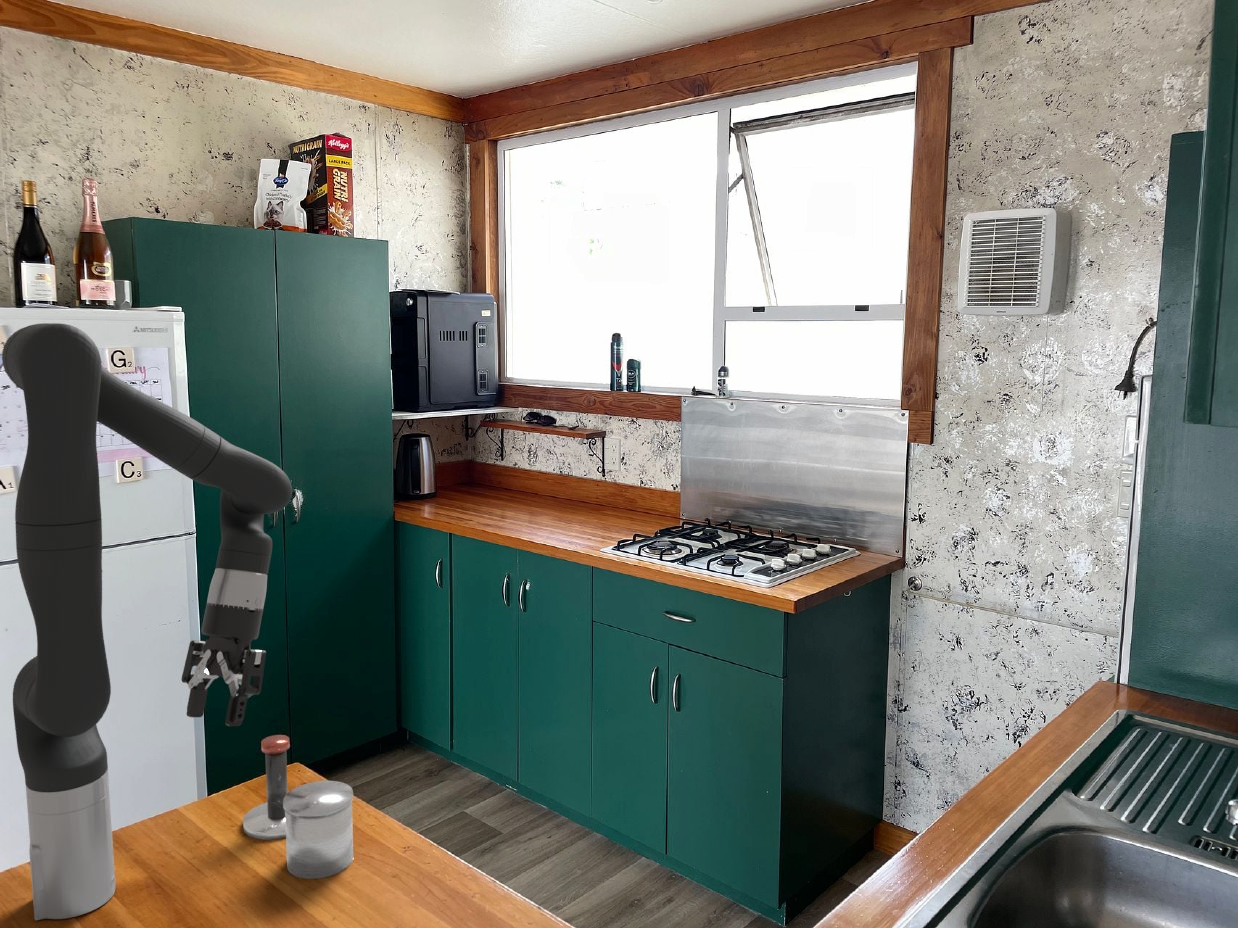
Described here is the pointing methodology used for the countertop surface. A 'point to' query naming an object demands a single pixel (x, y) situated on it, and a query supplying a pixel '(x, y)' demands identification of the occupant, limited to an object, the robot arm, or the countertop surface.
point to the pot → (319, 829)
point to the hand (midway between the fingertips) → (213, 721)
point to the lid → (271, 793)
